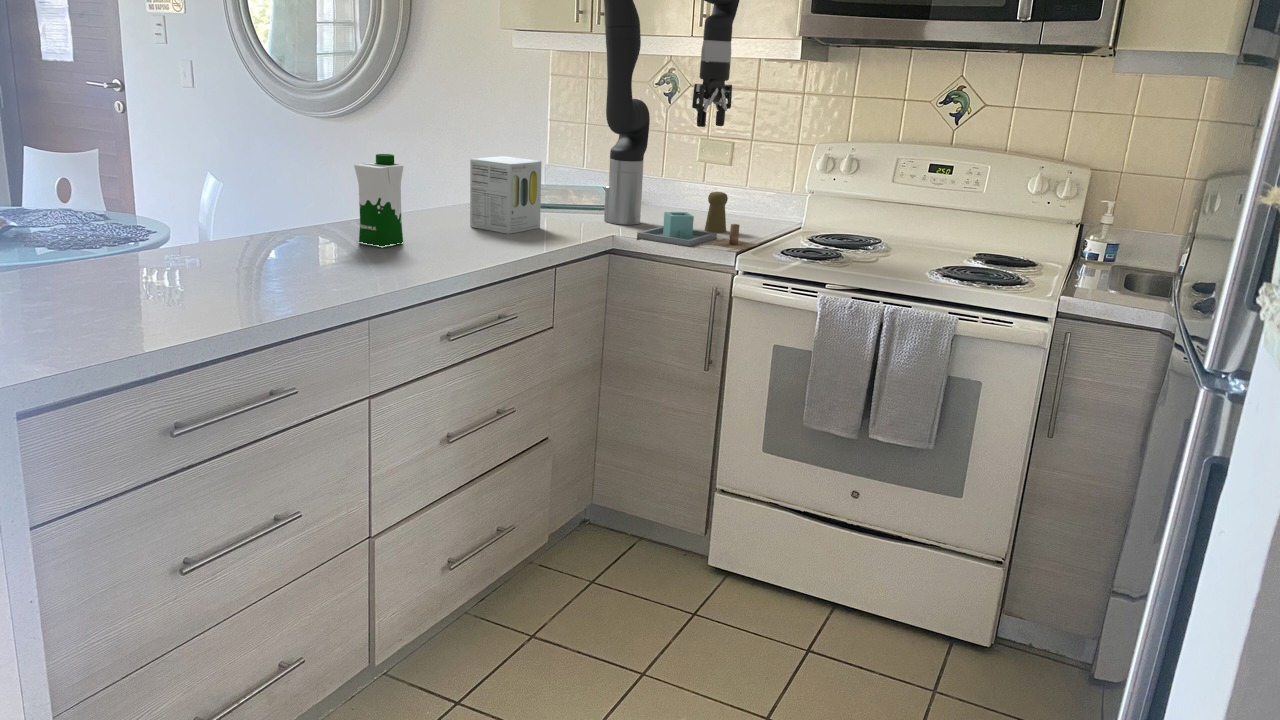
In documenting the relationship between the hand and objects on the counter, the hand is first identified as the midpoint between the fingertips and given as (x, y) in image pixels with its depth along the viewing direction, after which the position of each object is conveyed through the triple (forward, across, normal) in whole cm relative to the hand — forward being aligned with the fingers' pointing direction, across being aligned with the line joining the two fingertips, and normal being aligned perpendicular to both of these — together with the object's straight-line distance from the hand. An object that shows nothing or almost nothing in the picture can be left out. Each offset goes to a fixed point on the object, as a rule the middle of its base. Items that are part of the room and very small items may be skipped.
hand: (710, 126), depth 240 cm
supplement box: (+29, +35, -38) cm, 59 cm away
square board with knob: (+28, +6, +14) cm, 32 cm away
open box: (+27, +12, +1) cm, 30 cm away
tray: (+28, +12, +1) cm, 31 cm away
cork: (+28, -6, 0) cm, 29 cm away
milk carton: (+29, +74, -39) cm, 88 cm away
